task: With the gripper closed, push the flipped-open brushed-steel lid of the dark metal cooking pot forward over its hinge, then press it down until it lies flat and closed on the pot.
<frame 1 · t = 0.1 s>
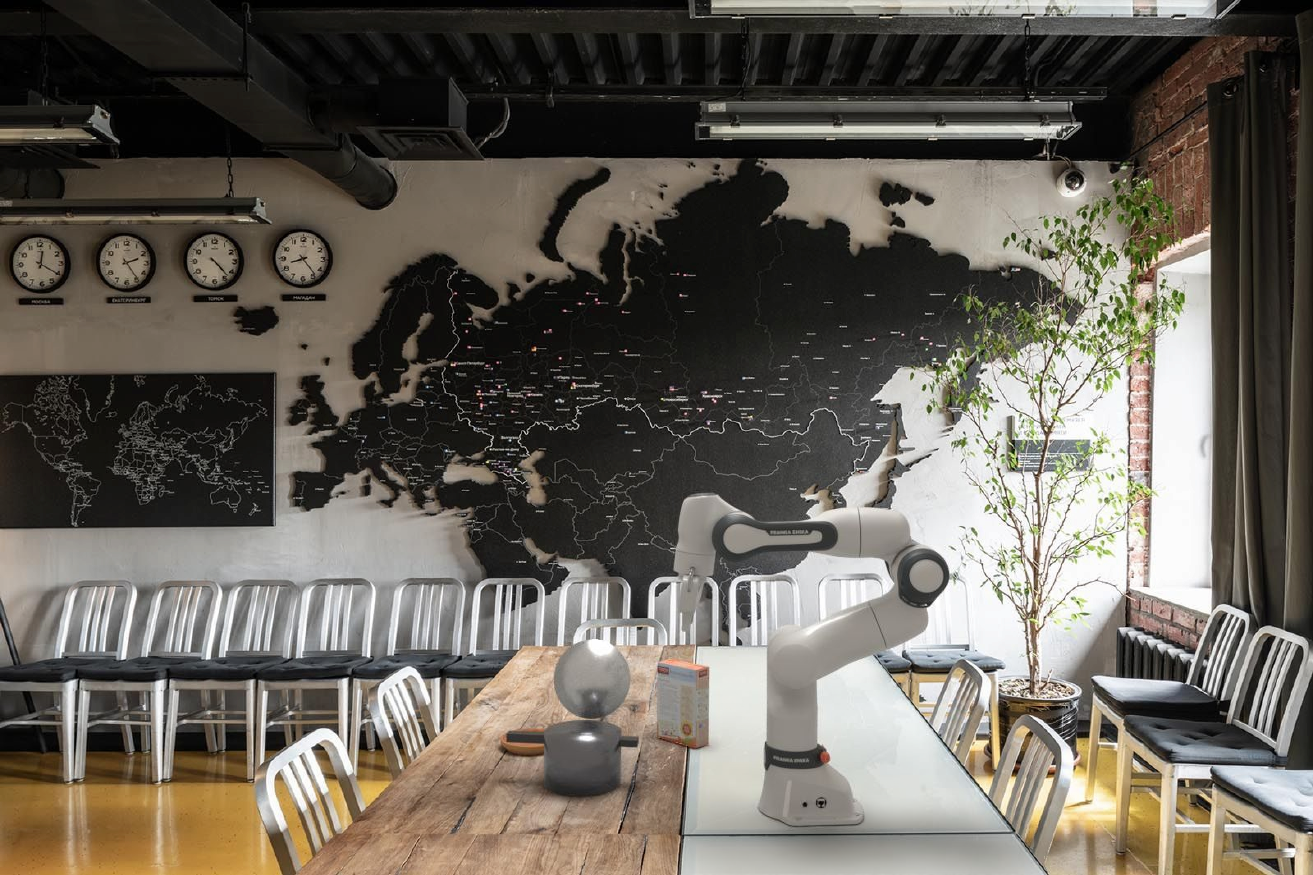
hand: (687, 627, 206), 39 cm above the table, tool pointing down, fingers open, 8 cm apart
cooking pot: (582, 782, 218), on the table
pot lid: (592, 678, 231), point 21 cm above the table, hinge at 100.0°
saucer: (531, 748, 244), on the table
cracker box: (682, 742, 250), on the table
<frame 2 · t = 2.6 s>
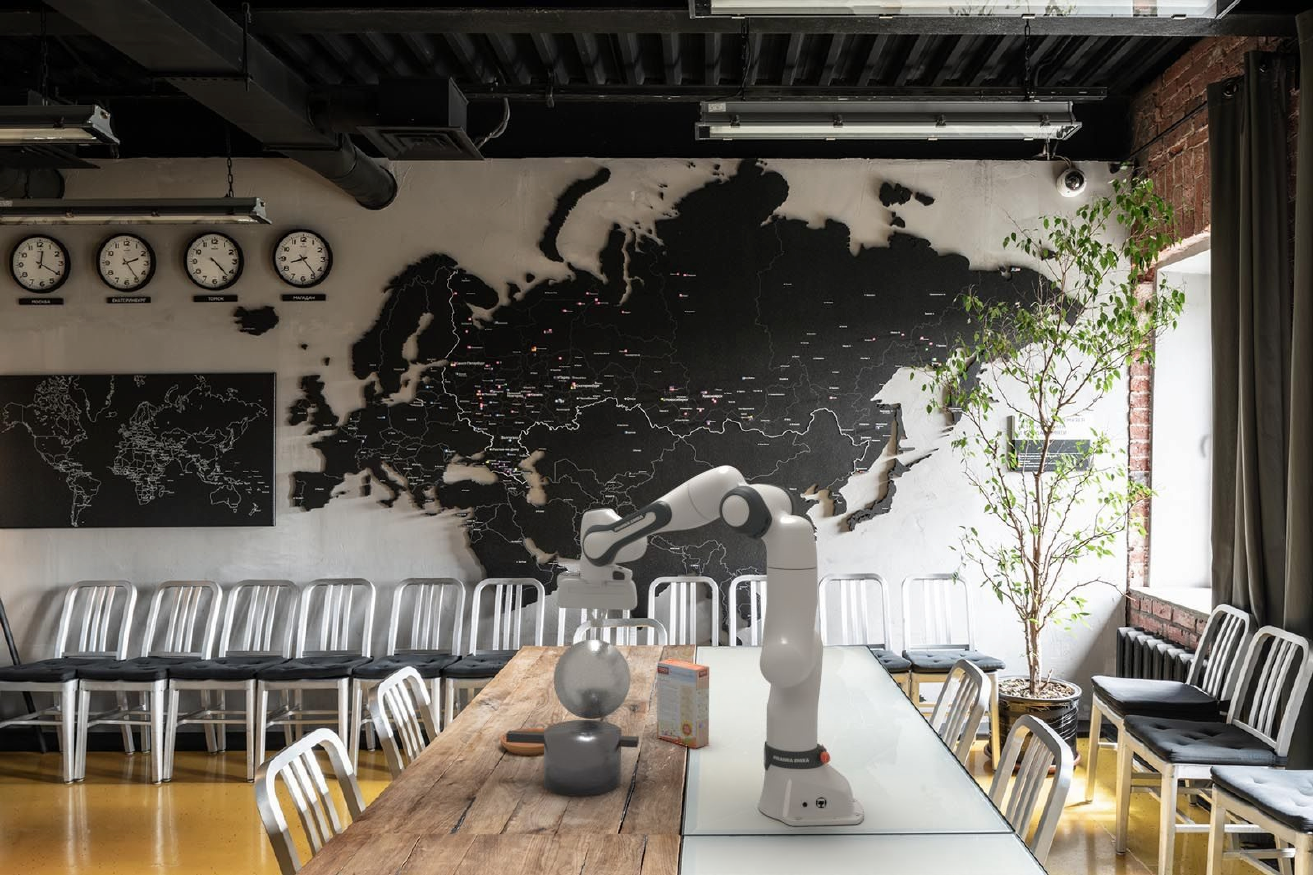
hand: (596, 626, 236), 33 cm above the table, tool pointing down, fingers closed
nothing on the table moved.
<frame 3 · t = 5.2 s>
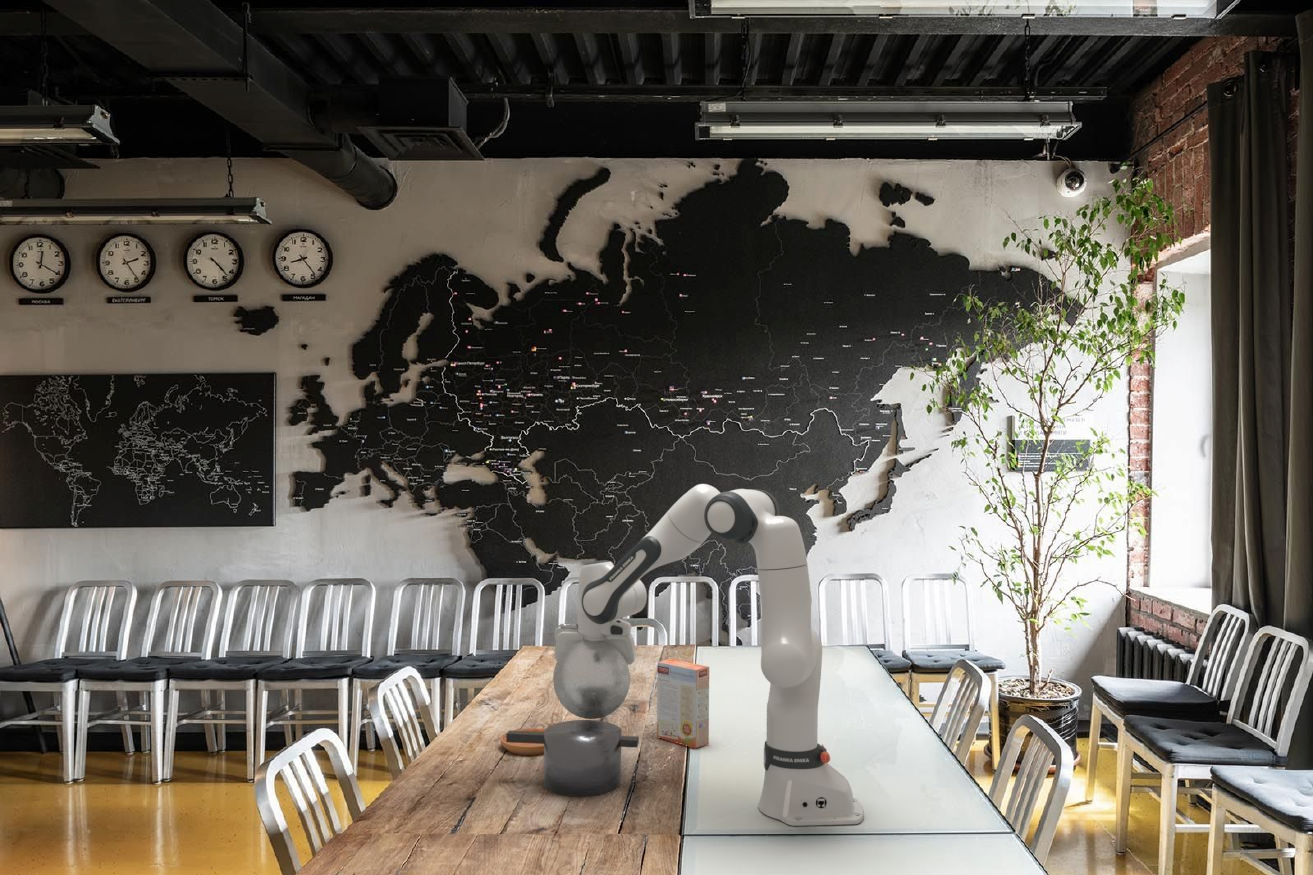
hand: (594, 680, 233), 20 cm above the table, tool pointing down, fingers closed, pressing on pot lid
pot lid: (592, 678, 230), point 21 cm above the table, hinge at 96.2°, touching gripper
everything else where it was.
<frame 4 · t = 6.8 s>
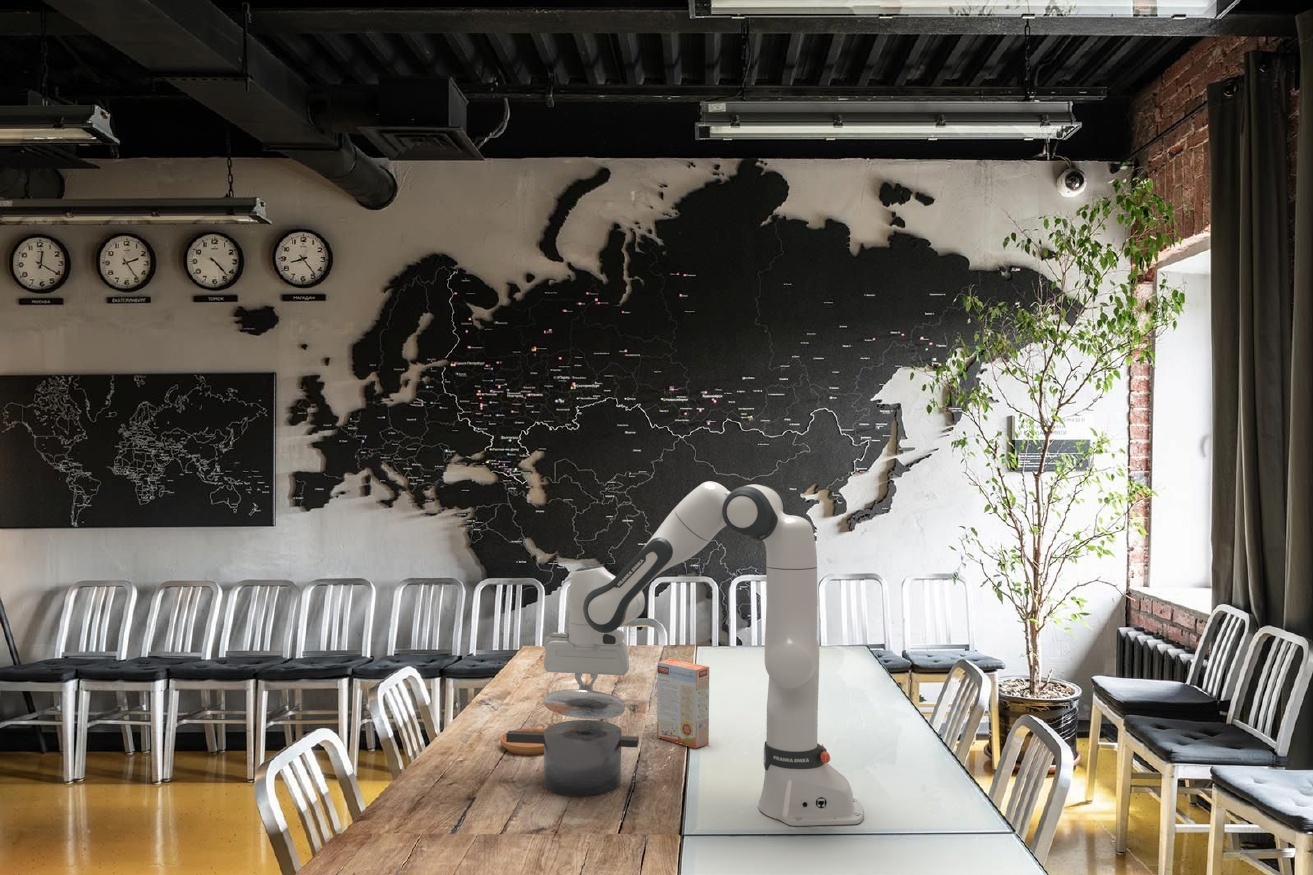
hand: (586, 691, 222), 20 cm above the table, tool pointing down, fingers closed, pressing on pot lid
pot lid: (585, 700, 220), point 19 cm above the table, hinge at 32.1°, touching gripper
everything else where it was.
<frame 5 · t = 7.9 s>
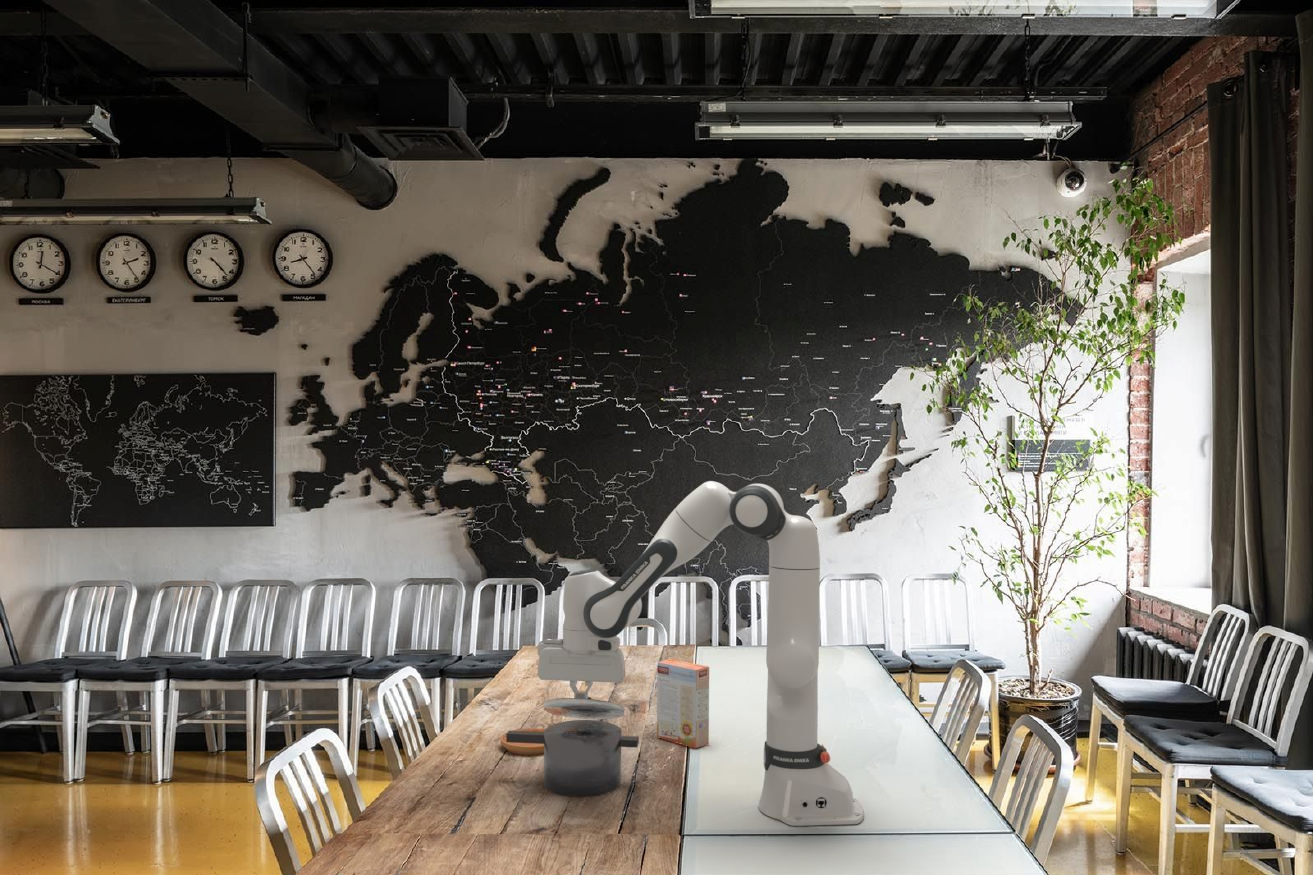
hand: (581, 700, 215), 20 cm above the table, tool pointing down, fingers closed, pressing on pot lid
pot lid: (584, 704, 220), point 18 cm above the table, hinge at 26.0°, touching gripper
everything else where it was.
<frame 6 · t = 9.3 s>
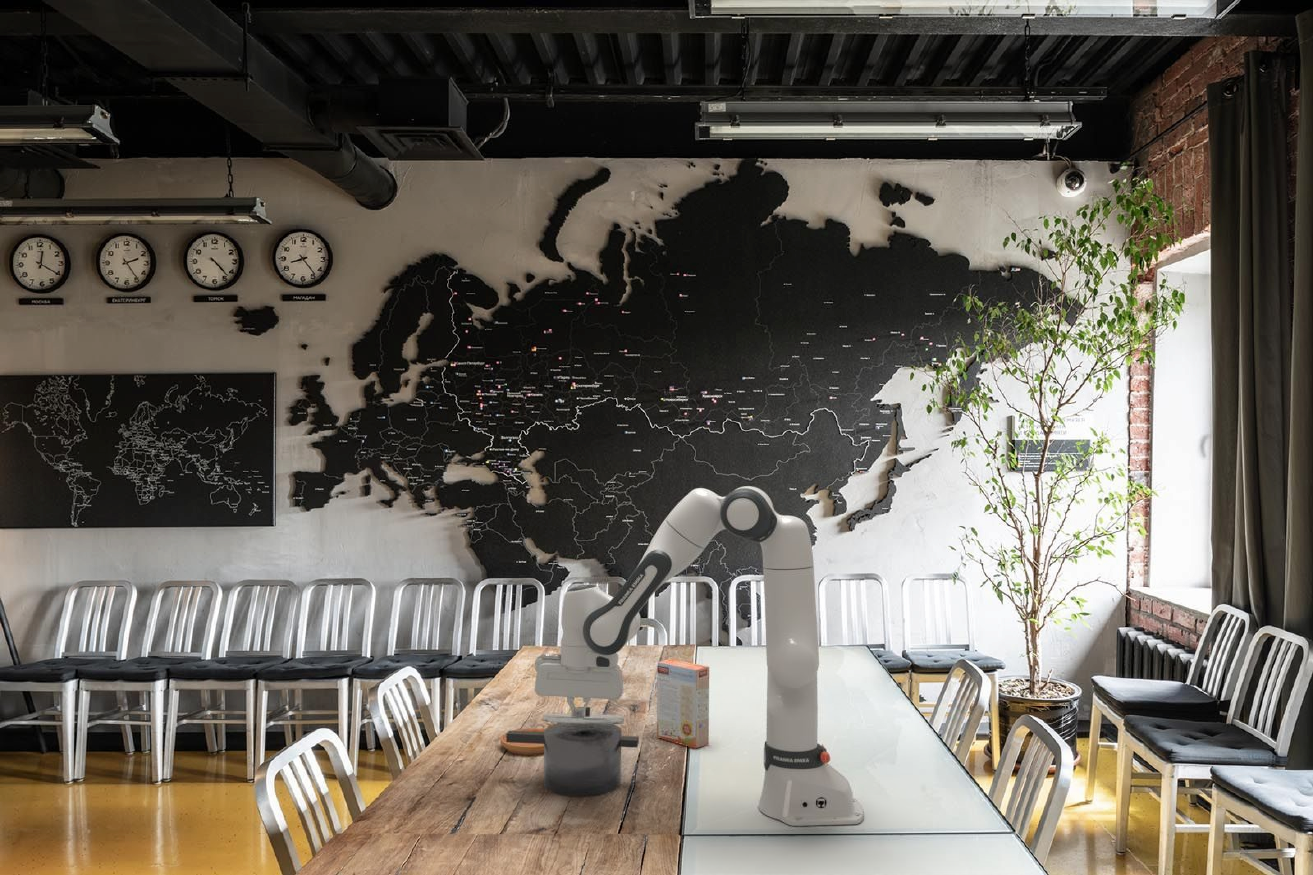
hand: (578, 716, 213), 17 cm above the table, tool pointing down, fingers closed, pressing on pot lid
pot lid: (583, 714, 219), point 16 cm above the table, hinge at 12.7°, touching gripper
everything else where it was.
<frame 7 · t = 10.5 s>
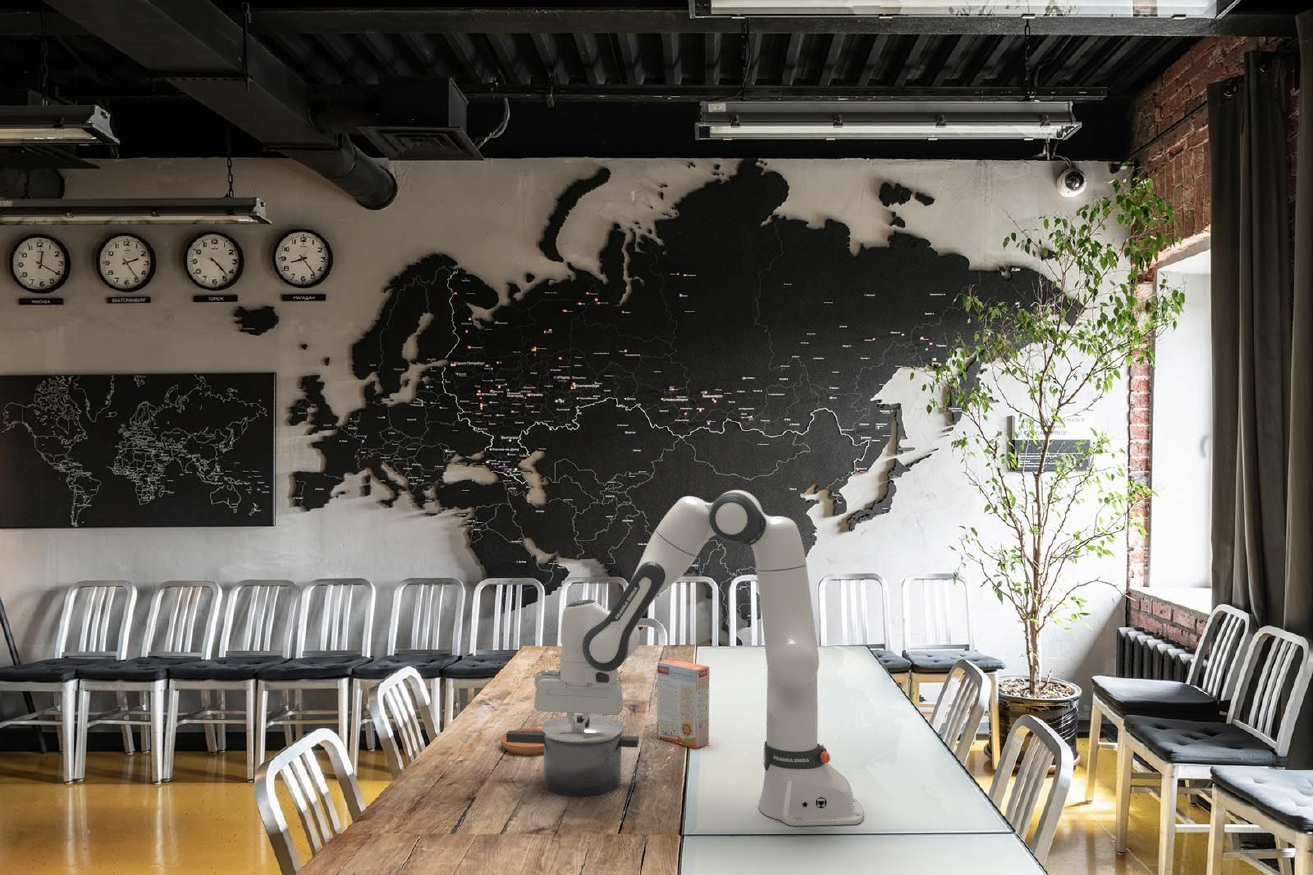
hand: (578, 732, 213), 13 cm above the table, tool pointing down, fingers closed, pressing on pot lid
pot lid: (583, 723, 218), point 14 cm above the table, hinge at -0.1°, touching gripper
everything else where it was.
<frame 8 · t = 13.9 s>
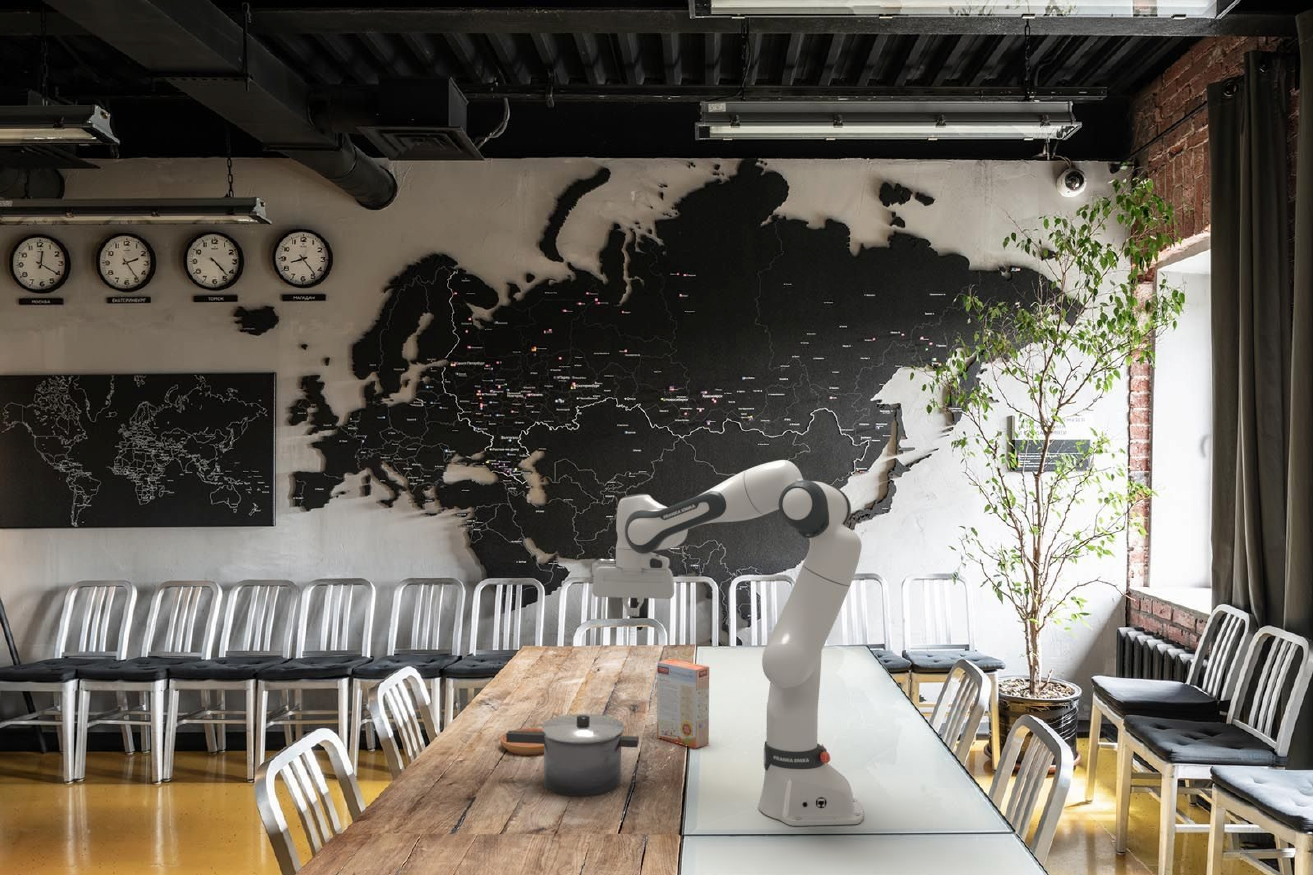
hand: (632, 615, 229), 37 cm above the table, tool pointing down, fingers closed
pot lid: (583, 723, 218), point 14 cm above the table, hinge at -0.1°
everything else where it was.
at the end: pot lid at +0° (first picture: +100°); cracker box moved 0.2 cm from its start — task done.
